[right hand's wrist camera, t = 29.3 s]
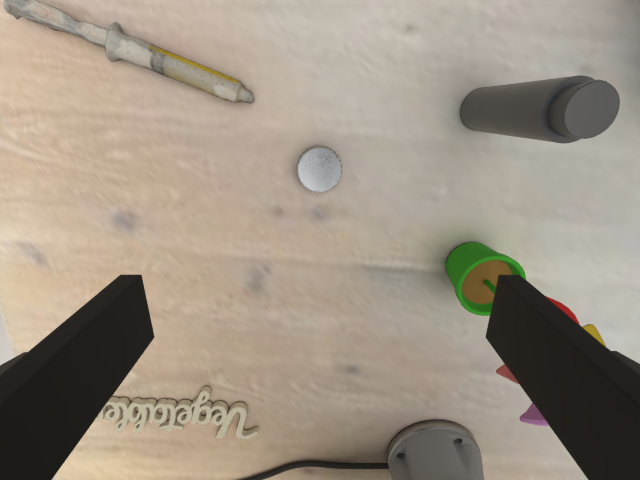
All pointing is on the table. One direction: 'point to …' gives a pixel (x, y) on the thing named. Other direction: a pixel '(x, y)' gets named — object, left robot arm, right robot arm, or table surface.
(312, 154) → the lid
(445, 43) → the table surface
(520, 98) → the bottle
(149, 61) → the syringe
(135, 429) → the decorative sign
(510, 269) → the potted flower
